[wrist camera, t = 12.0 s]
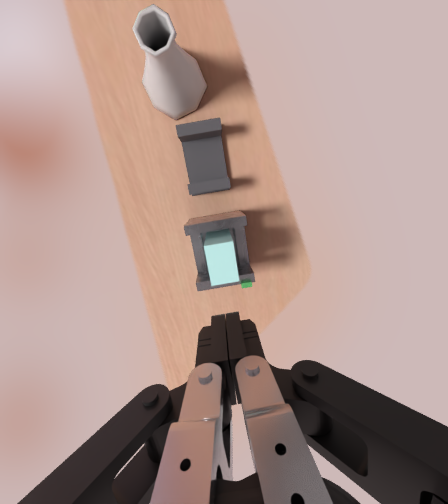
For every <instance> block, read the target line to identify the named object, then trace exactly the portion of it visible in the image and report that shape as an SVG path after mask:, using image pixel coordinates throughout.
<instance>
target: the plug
mask: <svg viewBox="0 0 448 504" xmlns="http://www.w3.org/2000/svg"><path fill="white" fill-rule="evenodd" d="M204 250H205V255H206V260H207V266H208V271H209V276H210V281H211V286H214V285H220V284H226V283H232V282H238V281H239V276H238V267H237V261H236V255H235V248H234V244H233V239H232V237H231V234H230V231H229V228H228V229H222V230H217V231H211V232H206V237H205V243H204Z"/></svg>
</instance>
